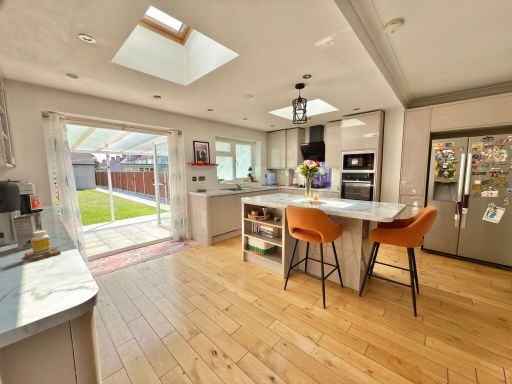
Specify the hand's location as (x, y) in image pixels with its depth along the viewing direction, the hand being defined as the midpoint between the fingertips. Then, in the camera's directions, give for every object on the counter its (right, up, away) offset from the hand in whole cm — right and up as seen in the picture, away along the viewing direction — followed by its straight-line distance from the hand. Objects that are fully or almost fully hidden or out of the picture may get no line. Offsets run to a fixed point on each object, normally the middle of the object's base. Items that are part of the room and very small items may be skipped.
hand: (1, 233), depth 82 cm
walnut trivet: (+6, -12, +10) cm, 17 cm away
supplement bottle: (+6, -11, +10) cm, 16 cm away
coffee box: (-14, -12, +24) cm, 30 cm away
